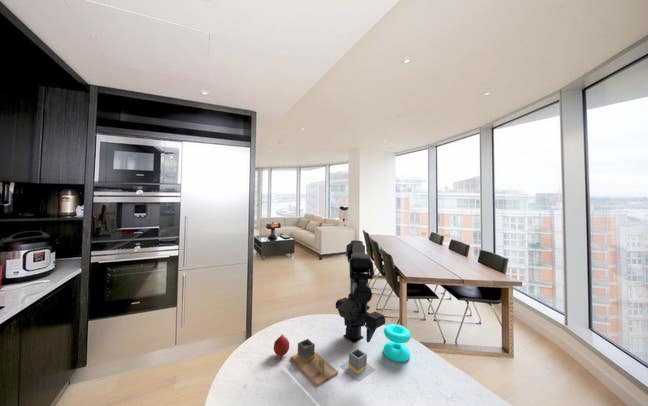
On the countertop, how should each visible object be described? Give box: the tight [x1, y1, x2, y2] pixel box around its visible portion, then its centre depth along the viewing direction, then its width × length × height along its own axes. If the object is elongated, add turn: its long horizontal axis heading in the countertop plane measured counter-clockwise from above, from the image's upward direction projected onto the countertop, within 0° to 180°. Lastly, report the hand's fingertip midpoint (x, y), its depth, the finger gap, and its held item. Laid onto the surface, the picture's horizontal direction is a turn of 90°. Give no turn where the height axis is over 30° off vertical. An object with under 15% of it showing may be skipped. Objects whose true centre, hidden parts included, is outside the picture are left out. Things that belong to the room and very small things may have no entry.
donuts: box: [382, 323, 412, 363], centre depth 90 cm, size 10×10×10 cm
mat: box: [339, 360, 376, 383], centre depth 81 cm, size 9×9×1 cm
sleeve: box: [348, 348, 368, 374], centre depth 81 cm, size 4×4×5 cm
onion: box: [273, 333, 290, 357], centre depth 87 cm, size 6×6×8 cm
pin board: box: [289, 338, 339, 388], centre depth 81 cm, size 9×16×6 cm, turn 40°
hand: (358, 335), depth 81 cm, fingers open, 9 cm apart
